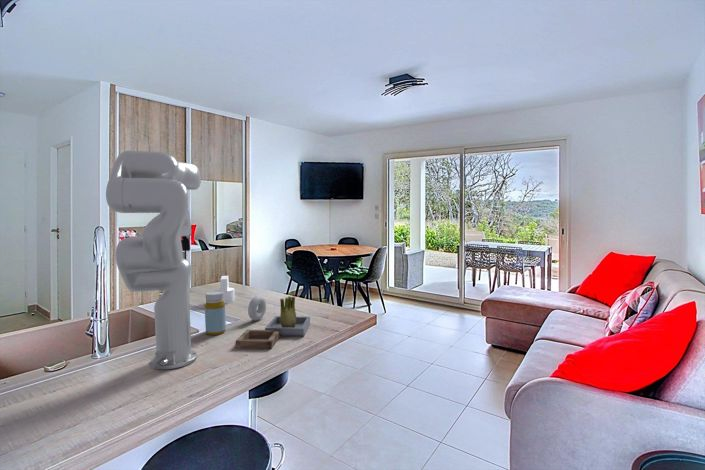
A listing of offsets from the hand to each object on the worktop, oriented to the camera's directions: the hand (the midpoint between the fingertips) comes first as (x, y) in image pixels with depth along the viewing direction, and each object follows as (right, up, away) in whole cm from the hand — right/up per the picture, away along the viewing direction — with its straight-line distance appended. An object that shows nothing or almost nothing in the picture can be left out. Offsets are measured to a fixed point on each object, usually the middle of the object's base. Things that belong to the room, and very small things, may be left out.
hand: (178, 252), depth 131 cm
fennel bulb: (+38, -29, +7) cm, 49 cm away
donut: (+23, -29, +19) cm, 42 cm away
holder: (+30, -31, -5) cm, 43 cm away
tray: (+38, -30, +7) cm, 49 cm away
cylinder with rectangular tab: (0, -27, +48) cm, 55 cm away
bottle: (+12, -30, +5) cm, 33 cm away
